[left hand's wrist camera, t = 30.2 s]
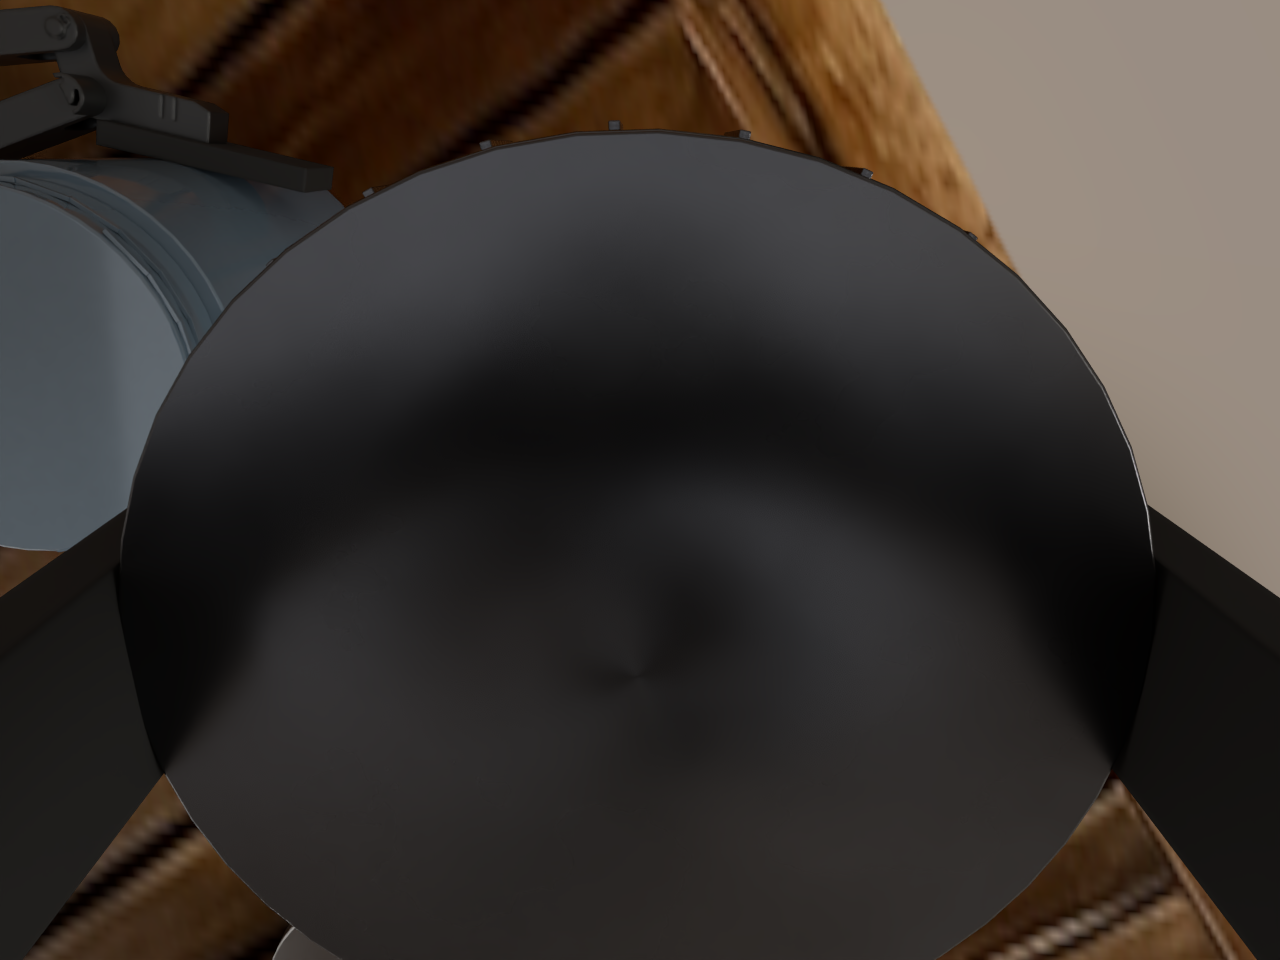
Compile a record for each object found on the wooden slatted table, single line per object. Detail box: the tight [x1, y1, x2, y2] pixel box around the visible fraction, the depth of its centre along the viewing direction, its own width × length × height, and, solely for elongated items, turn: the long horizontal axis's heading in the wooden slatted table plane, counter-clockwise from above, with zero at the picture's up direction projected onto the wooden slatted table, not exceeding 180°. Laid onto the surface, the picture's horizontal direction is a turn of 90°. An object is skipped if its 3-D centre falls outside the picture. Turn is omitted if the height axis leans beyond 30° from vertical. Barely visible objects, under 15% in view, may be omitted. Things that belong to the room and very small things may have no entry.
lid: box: [119, 120, 1156, 960], centre depth 11 cm, size 11×11×2 cm
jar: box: [0, 157, 344, 552], centre depth 30 cm, size 10×10×16 cm
